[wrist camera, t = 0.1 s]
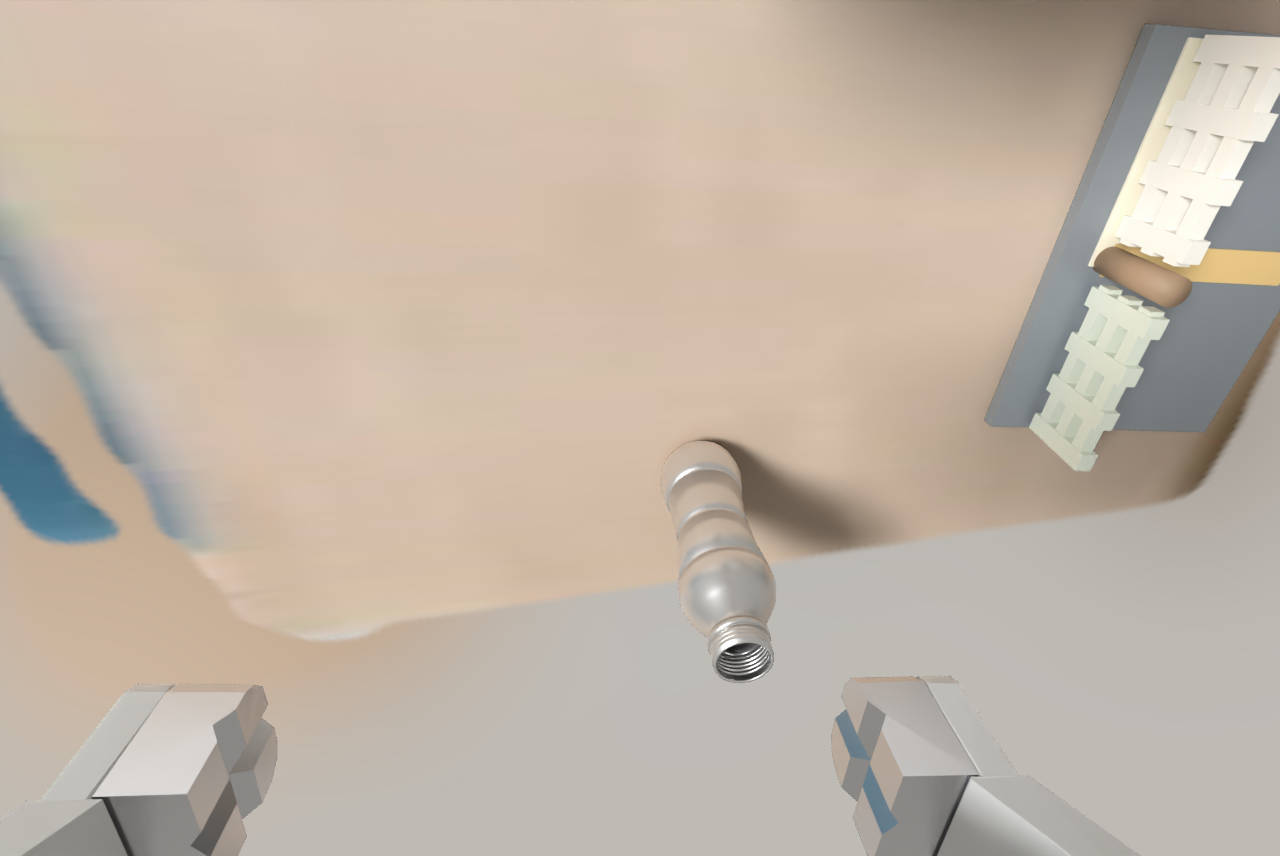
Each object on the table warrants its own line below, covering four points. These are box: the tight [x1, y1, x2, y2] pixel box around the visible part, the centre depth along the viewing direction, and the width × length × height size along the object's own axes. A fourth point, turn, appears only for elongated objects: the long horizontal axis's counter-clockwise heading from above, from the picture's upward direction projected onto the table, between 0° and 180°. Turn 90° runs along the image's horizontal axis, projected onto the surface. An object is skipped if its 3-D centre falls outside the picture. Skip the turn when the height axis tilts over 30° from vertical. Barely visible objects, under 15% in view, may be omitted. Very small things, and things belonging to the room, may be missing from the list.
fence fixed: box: [1093, 34, 1280, 308], centre depth 41 cm, size 15×2×6 cm, turn 176°
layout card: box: [985, 24, 1280, 432], centre depth 48 cm, size 28×19×1 cm
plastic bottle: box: [661, 441, 776, 683], centre depth 47 cm, size 6×7×20 cm
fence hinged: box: [1029, 285, 1170, 471], centre depth 48 cm, size 12×1×6 cm, turn 176°
